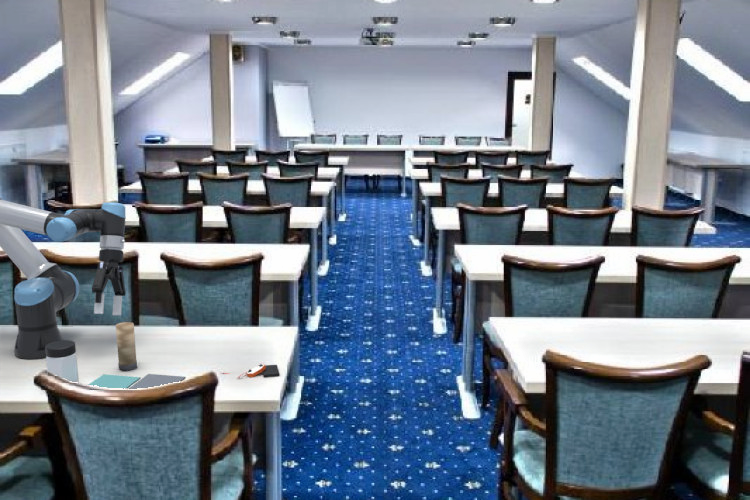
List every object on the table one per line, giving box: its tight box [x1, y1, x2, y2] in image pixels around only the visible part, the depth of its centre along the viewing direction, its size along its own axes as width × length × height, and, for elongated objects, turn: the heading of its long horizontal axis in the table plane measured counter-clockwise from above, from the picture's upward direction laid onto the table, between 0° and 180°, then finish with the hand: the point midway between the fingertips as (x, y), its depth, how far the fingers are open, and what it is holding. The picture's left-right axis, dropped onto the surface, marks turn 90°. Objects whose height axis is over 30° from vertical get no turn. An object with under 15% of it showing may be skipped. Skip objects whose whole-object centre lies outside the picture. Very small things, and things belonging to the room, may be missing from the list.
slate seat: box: [128, 373, 186, 389], centre depth 222 cm, size 12×12×1 cm
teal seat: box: [87, 373, 141, 389], centre depth 222 cm, size 12×12×1 cm
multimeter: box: [221, 363, 280, 380], centre depth 227 cm, size 18×12×3 cm, turn 98°
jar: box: [45, 339, 79, 383], centre depth 221 cm, size 9×8×12 cm
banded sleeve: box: [115, 321, 138, 372], centre depth 233 cm, size 5×5×14 cm
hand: (107, 314), depth 248 cm, fingers open, 13 cm apart
